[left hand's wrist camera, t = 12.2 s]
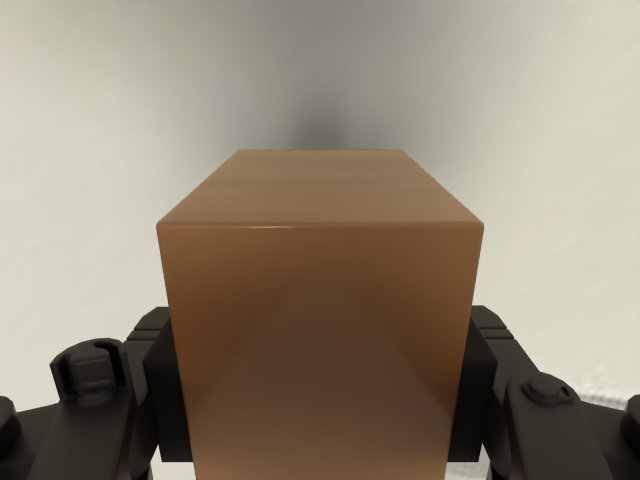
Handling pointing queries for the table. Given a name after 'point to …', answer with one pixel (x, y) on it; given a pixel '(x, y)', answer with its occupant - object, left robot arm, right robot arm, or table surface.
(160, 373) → the left robot arm
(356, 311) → the bar
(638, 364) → the table surface
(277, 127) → the table surface
